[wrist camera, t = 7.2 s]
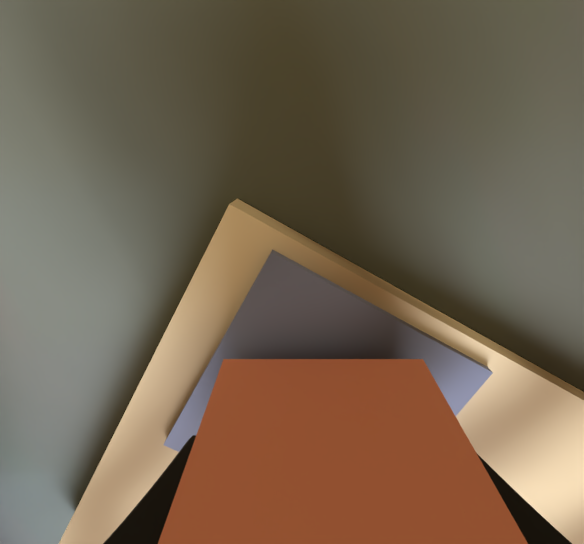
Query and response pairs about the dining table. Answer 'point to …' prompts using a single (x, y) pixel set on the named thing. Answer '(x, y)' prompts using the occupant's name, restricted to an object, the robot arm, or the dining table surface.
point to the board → (332, 345)
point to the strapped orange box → (334, 460)
